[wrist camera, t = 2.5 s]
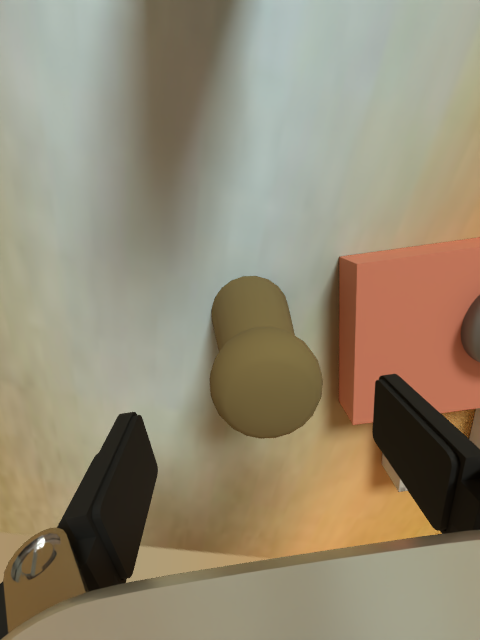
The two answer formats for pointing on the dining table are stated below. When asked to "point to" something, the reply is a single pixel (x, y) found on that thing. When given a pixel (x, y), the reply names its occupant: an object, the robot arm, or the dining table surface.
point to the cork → (261, 361)
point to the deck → (411, 328)
